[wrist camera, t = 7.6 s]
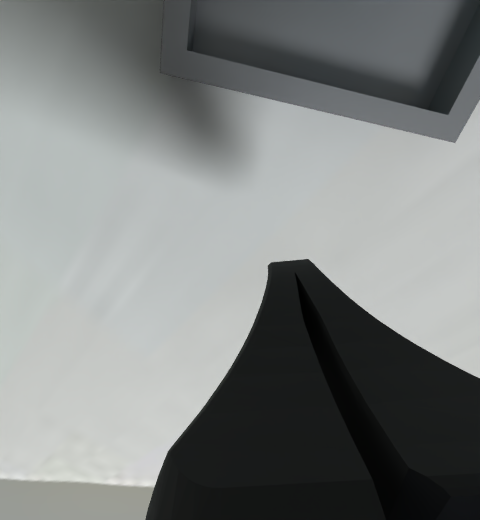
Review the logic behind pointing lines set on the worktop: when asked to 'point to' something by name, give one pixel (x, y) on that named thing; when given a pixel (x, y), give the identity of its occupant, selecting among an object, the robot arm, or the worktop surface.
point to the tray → (336, 56)
